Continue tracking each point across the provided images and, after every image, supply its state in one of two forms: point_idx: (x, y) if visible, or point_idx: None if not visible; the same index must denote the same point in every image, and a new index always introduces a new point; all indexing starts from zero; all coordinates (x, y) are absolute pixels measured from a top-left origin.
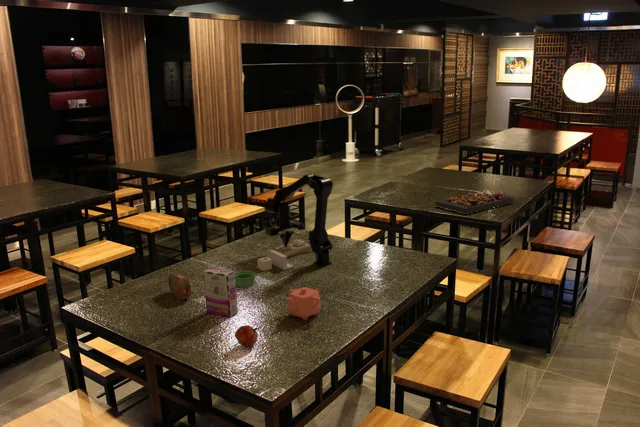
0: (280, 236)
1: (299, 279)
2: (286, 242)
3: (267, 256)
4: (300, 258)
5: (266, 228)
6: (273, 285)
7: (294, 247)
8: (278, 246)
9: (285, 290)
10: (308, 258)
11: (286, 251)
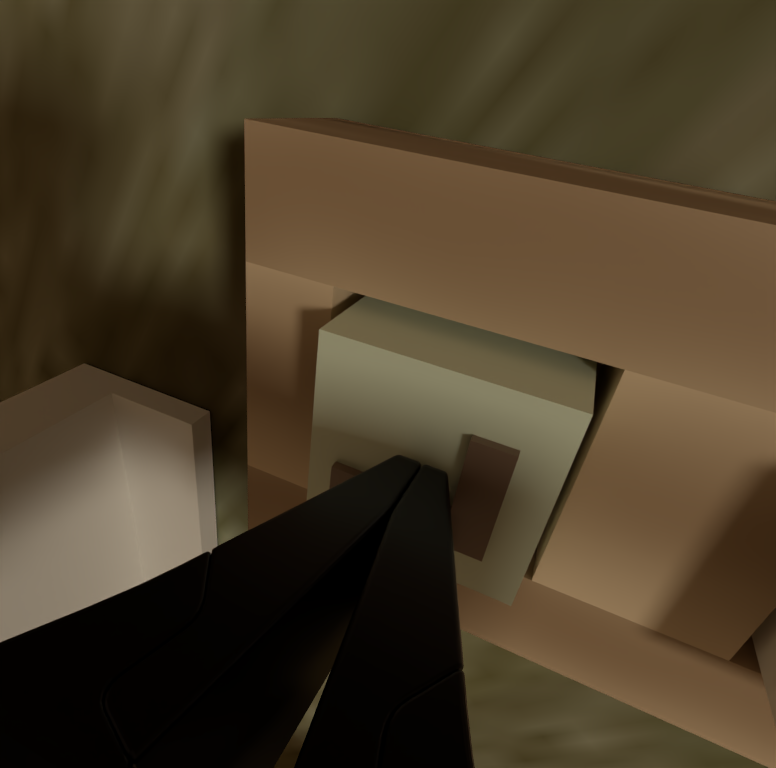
0: (3, 665)
1: None
2: (338, 641)
3: (7, 403)
4: (468, 655)
5: None
6: None
7: (627, 601)
8: (406, 164)
9: None
10: (539, 737)
11: None
